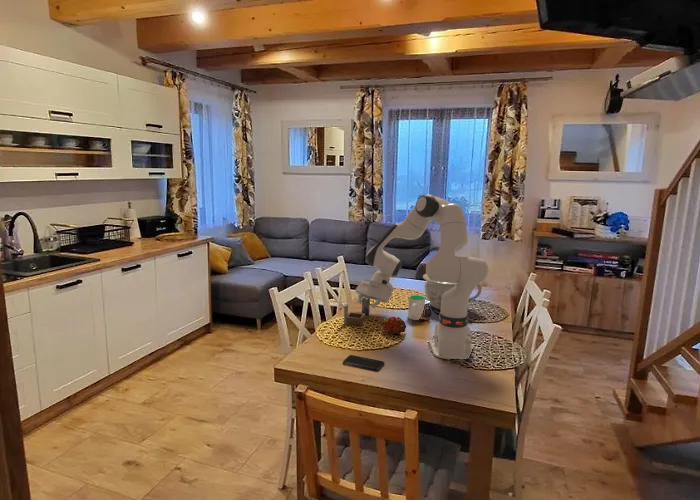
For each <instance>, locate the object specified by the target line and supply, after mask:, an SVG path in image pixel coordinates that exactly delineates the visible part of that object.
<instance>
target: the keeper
mask: <svg viewBox="0 0 700 500" xmlns="http://www.w3.org/2000/svg"><path fill="white" fill-rule="evenodd" d="M343 309H344V311H343V312H344V313H343V317H344V318H343V325H345V324H350V325H349V326H357V325H360V326H359V327H362V326H363V325H364V323H365V321H366V317H365V313H362V312H354V311H349V303H344V305H343Z"/></svg>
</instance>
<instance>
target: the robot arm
mask: <svg viewBox="0 0 700 500" xmlns="http://www.w3.org/2000/svg"><path fill="white" fill-rule="evenodd" d="M431 222H434V223H436V224H437V223H438V224H439V230H440V231H439V232H440V243H439V248H438V251H437V252H436V253H435V254H434V255H433V256H432V257H430V258H429V260H428V261H427V262H426V264H425V274H427V276H428V278H429V279H430V280H432V281H436V282H441V283H456V285H455V286H454V287H453V288H452V289H450V290H448V291H446V292H445V293H444V294H443V295H442V298H441V310H440V312H439V314H438V322H437V323H435V324H434V334H433V339H429V341H428V342H429V346H430V348H431V352H432V354H433V356H434V357H436V358H440V359H443V360H444V359H445V360H450V359H463V358H469V356H470V354H471V355H472V353H473V351H472V349H473V347H474V348H475V345H474V344H473V343H472V339H471V337H472V333H471V327H470V326H469V325H468V322H469V315H468V309H469V303H470V302H469V298H471V294H472V293H473V291H474V290H475V288H477V287H478V286H477V285H478V284H480V285H481V283H483V282H484V281H485V280H486V278H487V277H488V275H489V266H488V264H487V262H486V260H485V259H483V258H480V257H479V258H478V257H475V256H457V255H456V252H459V251H461V250H463V249H464V248H465V247H466V246H467V245H468V234H467V233H468V231H467V223H466V218H465V213H464V211H463V208H462V207H461V205H459V204H457V203H453V202H449V201H447V200H445V199H444V198H442V197H439V196H436V195H435V196H434V195H433V194H429V193H426V194H425V193H424V194H422V195H420V196H419V197H418V198H417V200H416V203H415V205H414V207H412V209H411V210H410V211H409V212H408V214H407V216H406V217H405V218H404V220H403V221H401V222H399V223H398V222H396V223H394V224H392V226H391V227H390V228H389V229H388V230H387V231H386V232H385V233H384V234H383V236H381V237H380V239H379V240H378V241H377V243H375V244H374V245H373V247H371V248H370V249H369V250H368V251H367V252H366V254H365V260H366V263H367V264H368V265H369V266H371V267H373V268H375V269H377V270H376V271H375V272H374V274H373V275H372V276H371V278H370V280H368V279H363V280H361V282H360V283H359V284H358V285H357V287H356V288H355V290H354V291H355V293H356V295H358V299H357V301H356V302H357V303H358V304H360V305H362V298H364V297H367V298H370V300H374V302H372V303H371V304H370V305H371V306H370V307H371V308H373V309H375V308H376V307H377V306H378V305H380V304H381V303H384V304H386V303H388V302H389V301H390V299H391V297H392V295H393V292H394V291H395V287H393V285H392V284H391V282H390V281H391V278H395V277H397V276H398V274H399V271H400V270H401V269H402V262H401V260H400V259H399V258H398V257H396V256H395V255H393V254H390V253H389V252H387V251H386V250H384V247H385V246H386V245H388V243H389V242H390V241H391V240H392V239H404V240H409V241H411V240H412V241H413V240H417V239H419V238H421V236H422V235H423V234H424V233H425V232H426V229H427V228H428V227H429V224H430V223H431ZM468 302H469V303H468ZM470 346H472V347H470ZM473 350H474V349H473ZM471 352H472V353H471ZM460 357H463V358H460ZM470 357H471V356H470ZM469 359H470V358H469Z"/></svg>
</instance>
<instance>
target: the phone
mask: <svg viewBox="0 0 700 500" xmlns="http://www.w3.org/2000/svg"><path fill="white" fill-rule="evenodd" d="M342 364H343V365H346V366H350V367H353V368H354V367H356V368H360V369H364V370H369V371H372V372H379V371H381V370H382V368H383V367H384V366H385V361H384V360H378V359H374V358H369V357H364V356H358V355H354V354H349V355H348V356H347V357H345V359H343V360H342Z"/></svg>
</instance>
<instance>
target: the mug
mask: <svg viewBox="0 0 700 500" xmlns="http://www.w3.org/2000/svg"><path fill="white" fill-rule="evenodd" d="M424 306H425V307H426V296H423V295H418V294H415V295H414V294H412V295H410V296H408V309H407V310H408V313H407V317H408V319H410V320H412V321H420V320H419V318H420V317H421V314H422V313H423V310H424ZM424 311H425V310H424Z"/></svg>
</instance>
